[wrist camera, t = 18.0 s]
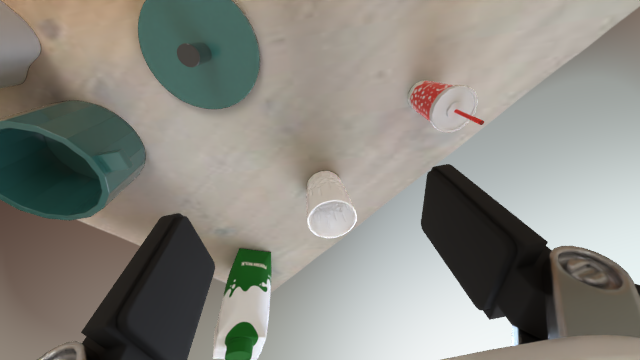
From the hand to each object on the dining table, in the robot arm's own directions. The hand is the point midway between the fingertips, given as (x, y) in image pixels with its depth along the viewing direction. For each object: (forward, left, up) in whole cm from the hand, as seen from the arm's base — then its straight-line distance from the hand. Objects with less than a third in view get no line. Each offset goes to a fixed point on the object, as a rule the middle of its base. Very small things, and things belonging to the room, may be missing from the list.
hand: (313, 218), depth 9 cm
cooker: (+4, -32, -30) cm, 44 cm away
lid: (-6, -11, -30) cm, 32 cm away
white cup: (+19, +2, -31) cm, 36 cm away
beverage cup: (+5, +20, -31) cm, 37 cm away
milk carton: (+36, -17, -31) cm, 50 cm away
